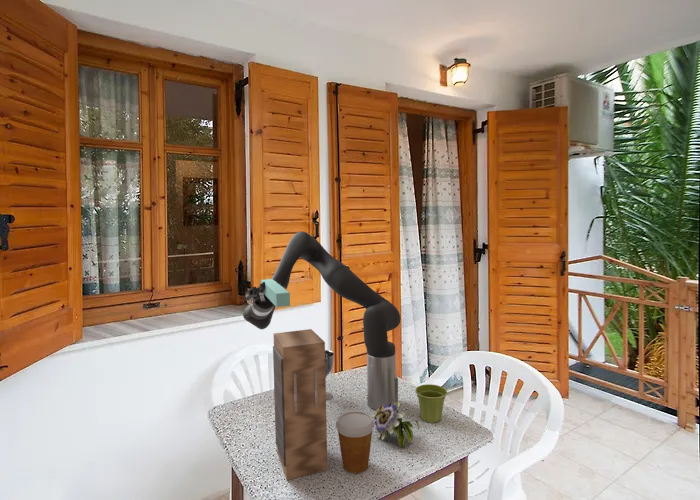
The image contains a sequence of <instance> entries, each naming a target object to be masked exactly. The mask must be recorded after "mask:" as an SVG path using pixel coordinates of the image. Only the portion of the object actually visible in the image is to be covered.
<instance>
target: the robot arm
mask: <svg viewBox="0 0 700 500" xmlns="http://www.w3.org/2000/svg"><path fill="white" fill-rule="evenodd" d="M300 258H301V260H304V261H306V262H307V263H308V264H309V265H311V266H313V268H315V269H316V270H317V271H318V272H319V274H320V276H321V277H322V279H323V280H324V282H325V283H326V284H327V286H328V287H329V288H330V289H332V290H333V291H334V292H335V293H336V294H337V295H338V296H340V297H342V298H343V299H346V300H348V301H351V302H353V303H355V304H358V305H359V306H361V307H362V308H364V309H365V310H364V313H363V317H362V318H363V319H362V321H363V322H362V326H363V328H362V329H363V341H364V345H365V349H366V371H367V372H366V377H367V378H366V382H367V383H366V386H367V387H366V388H367V390H366V392H367V395H366V396H367V397H366V400H367V401H366V402H367V403H366V404H367V406H368V407H369V408H370V409H373V410H376V411H377V409H378V408H380V406H382V407H383V406H385V405H386V406H387V405H388V404H390V403H391V402H394V403H395V404H396V403H397V402H398V401H399V377H398V375H396V345H395V344H394V343H393V342H391V341H389V340H388V339H389V338H388V332H390V331H393V330H394V329H396V328H398V327H399V325H400V324H401V320H402V319H401V314H400V311H399V310H398V308H397V307H396V306H395V305H394V304H393V303H392V302H391V301H389V300H388V299H386V298H385V297H383V296H382V295H381V294H379V293H378V292H376V291H375V290H373V289H372V288H371V287H370V286H369V285H368V284H367V283H365V282H364V281H363V280H362V279H361V278H360V277H358V276H357V275H356V273H354V272H353V271H352V270H351V269H350V268H349V267H348V266H346V264H344V263H342V261H340V260H338V259H337V258H335V257H333V256H332V255H331V254H330V253H329V252H328V251H327V250H326V249H325V248H324V246H323V245H322V244H321V243H320V241H318V239H316V238H315V237H314V236H312V235H310V233H308V232H307V231H298V232H295V234H293V235H292V236H291V238H290V240H289V241H288V244H287V246H286V247H285V250H284V252H283V254H282V256H281V259H280V261H279V263H278V265H277V267H276V270H275V271H274V273H273V275H272V276H271V278H270V279H273V280H274V281H275V282H277V283H278V284H279V285H281V286H282V287H283V288H284V289H286V290H287V291H288V287H289V284H290V280H291V279H290V278H291V275H292V271H293V268H294V266H295V264H296V263H297V261H298V260H299V259H300ZM264 291H265V282H262V284H261V283H260V284H259V285H258V287H257V286H253V287H251V288H250V289H248V290H247V291H246V292H244V293H245V301H247V302H248V301H251V303H250V304H248V305H247V306H246V307H245V308H244V310H243V313H242V317H243V319H244V320H245V321H246V322H248V323H249V324H251V325H253V327H255V328H257V329H259V330H264V329H266V328H268V327H269V326H270V324H271V321H272V318H273V315H274V311H275V310H276V308H277V307H276V306H275V305H274V304H273V303H272V302H271V301H270V300H269V299H268V298H267V297H266V295H265V294H264V293H263V292H264Z"/></svg>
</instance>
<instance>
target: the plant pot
mask: <svg viewBox="0 0 700 500" xmlns="http://www.w3.org/2000/svg"><path fill="white" fill-rule="evenodd" d="M414 391H415V394H416V396H417V398H418V405H419V413H420V419H422V420H423V421H424V422H427V423H432V424H434V423H437V422H440V421H441V420H442V416H443V410H444V404H445V399H446V396H447V395H448V390H447V389H446V388H445V387H443V386H440V385H437V384H432V383H431V384H430V383H428V384H421V385H418V386H416V388H415V389H414Z"/></svg>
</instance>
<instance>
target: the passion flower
mask: <svg viewBox="0 0 700 500" xmlns="http://www.w3.org/2000/svg"><path fill="white" fill-rule="evenodd" d="M400 407H401V401H400V400H398V402H397V403H396V404H395V403H394V402H391V403H390V404H388V405H387V406H386V405H385V406H383V407H382V406H380V408H378V409H377V410H376V412H375V413H374V418H373V419H374V420H375V421H374V426H375V427H376V429H375V430H376V431H377V432H378V433H379V434H378V437H377V439H381V440H382V441H385V440H386V439H387V438H388V435H389V434H390V435H393V434H395V435H396V437H397V441H398V445H399V447H400V448H402V449H404V448H405V443H406V438H407V442H408V445H409V446H410V444H412V441H413V438H414V431H413V428H414V425H413V423H412V422H415V423H416V425H417V430H420V428H421V427H420V423H419V419H418V420H417V419H416V420H412V422H411V420H404V421H403V418H405V413H404V412H401V411H399V409H400ZM405 434H406V436H405Z"/></svg>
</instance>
